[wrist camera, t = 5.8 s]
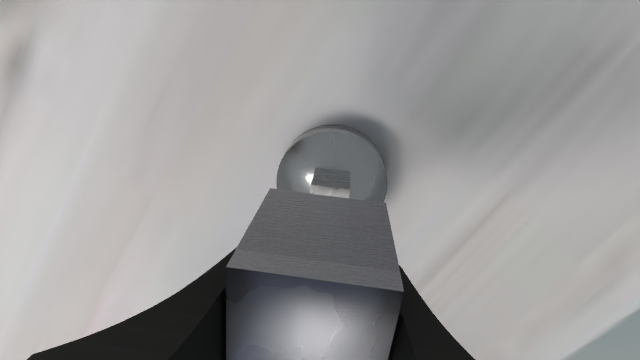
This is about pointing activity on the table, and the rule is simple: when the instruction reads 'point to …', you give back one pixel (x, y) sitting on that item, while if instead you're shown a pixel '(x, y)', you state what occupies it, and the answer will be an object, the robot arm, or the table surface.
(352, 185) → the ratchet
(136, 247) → the table surface
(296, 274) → the socket
